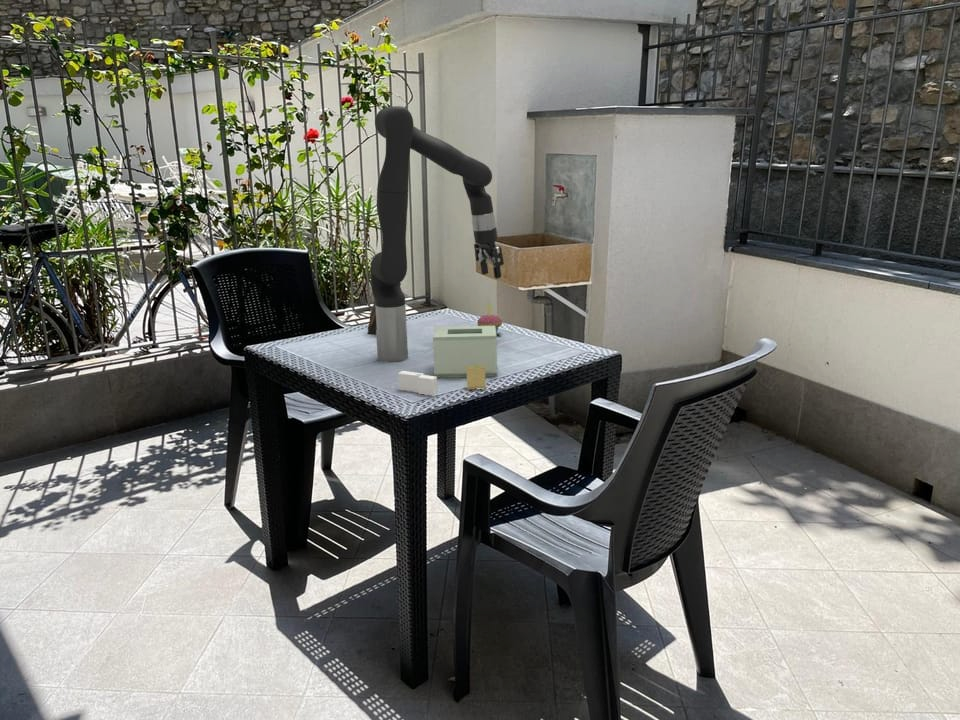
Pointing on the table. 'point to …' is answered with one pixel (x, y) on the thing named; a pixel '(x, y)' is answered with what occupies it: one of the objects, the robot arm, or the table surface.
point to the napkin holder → (417, 382)
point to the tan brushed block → (476, 377)
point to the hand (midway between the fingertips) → (491, 276)
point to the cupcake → (490, 320)
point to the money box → (464, 350)
